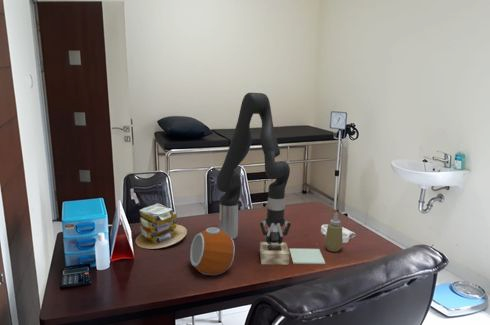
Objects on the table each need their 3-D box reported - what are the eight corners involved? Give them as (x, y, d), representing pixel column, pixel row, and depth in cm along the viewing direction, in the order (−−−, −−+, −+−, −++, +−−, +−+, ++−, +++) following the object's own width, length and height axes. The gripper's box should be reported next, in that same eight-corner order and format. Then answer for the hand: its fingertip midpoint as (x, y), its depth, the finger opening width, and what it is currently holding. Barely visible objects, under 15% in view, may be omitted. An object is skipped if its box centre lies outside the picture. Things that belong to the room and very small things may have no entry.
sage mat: (293, 263, 172) (293, 262, 172) (289, 249, 186) (289, 248, 186) (325, 264, 172) (325, 262, 172) (318, 250, 186) (319, 248, 186)
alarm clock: (185, 261, 172) (185, 224, 168) (223, 255, 178) (224, 219, 175) (198, 282, 155) (198, 241, 151) (239, 274, 161) (240, 235, 158)
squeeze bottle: (332, 254, 182) (334, 217, 178) (321, 247, 189) (323, 211, 185) (345, 251, 185) (348, 214, 181) (334, 244, 192) (337, 209, 188)
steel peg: (269, 258, 174) (270, 224, 171) (268, 254, 179) (269, 220, 175) (278, 258, 175) (280, 224, 171) (278, 254, 179) (279, 221, 175)
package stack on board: (141, 253, 178) (139, 218, 175) (131, 233, 200) (129, 202, 196) (193, 244, 189) (193, 211, 185) (178, 226, 210) (178, 196, 207)
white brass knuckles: (359, 240, 200) (337, 245, 193) (335, 227, 215) (314, 232, 208) (360, 233, 199) (338, 239, 192) (336, 222, 214) (314, 226, 207)
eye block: (261, 264, 171) (261, 253, 170) (259, 252, 182) (260, 241, 181) (288, 264, 171) (289, 253, 170) (285, 252, 183) (286, 242, 182)
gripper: (259, 209, 168) (258, 246, 171) (293, 210, 168) (291, 247, 172) (259, 203, 175) (257, 239, 179) (291, 204, 175) (289, 240, 179)
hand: (274, 243), depth 175 cm, fingers closed on steel peg, 4 cm apart
